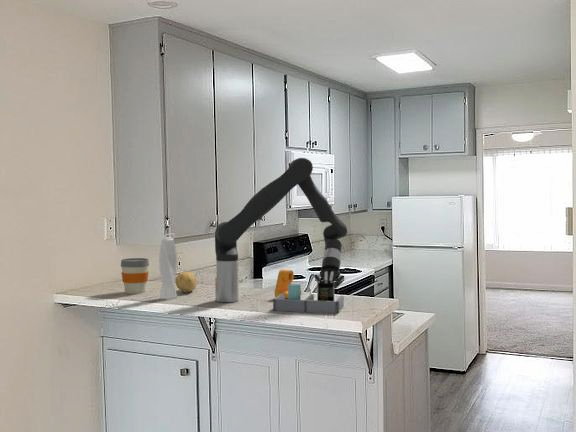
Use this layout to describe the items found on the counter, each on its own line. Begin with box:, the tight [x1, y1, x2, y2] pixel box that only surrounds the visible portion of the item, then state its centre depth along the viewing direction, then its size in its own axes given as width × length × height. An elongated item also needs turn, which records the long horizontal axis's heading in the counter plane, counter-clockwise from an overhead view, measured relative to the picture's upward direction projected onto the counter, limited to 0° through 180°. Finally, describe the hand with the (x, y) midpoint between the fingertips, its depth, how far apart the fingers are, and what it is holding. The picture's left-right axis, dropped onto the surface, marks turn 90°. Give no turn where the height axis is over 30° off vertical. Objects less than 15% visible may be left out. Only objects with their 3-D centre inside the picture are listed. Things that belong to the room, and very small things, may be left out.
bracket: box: [274, 269, 295, 299], centre depth 270 cm, size 11×7×12 cm, turn 147°
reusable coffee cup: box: [120, 257, 150, 295], centre depth 284 cm, size 13×12×15 cm
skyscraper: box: [158, 232, 178, 301], centre depth 268 cm, size 8×8×28 cm
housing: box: [272, 283, 345, 314], centre depth 245 cm, size 14×26×9 cm, turn 77°
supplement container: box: [316, 280, 335, 301], centre depth 246 cm, size 7×7×10 cm
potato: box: [175, 270, 198, 293], centre depth 285 cm, size 10×14×10 cm
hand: (327, 295), depth 250 cm, fingers closed
